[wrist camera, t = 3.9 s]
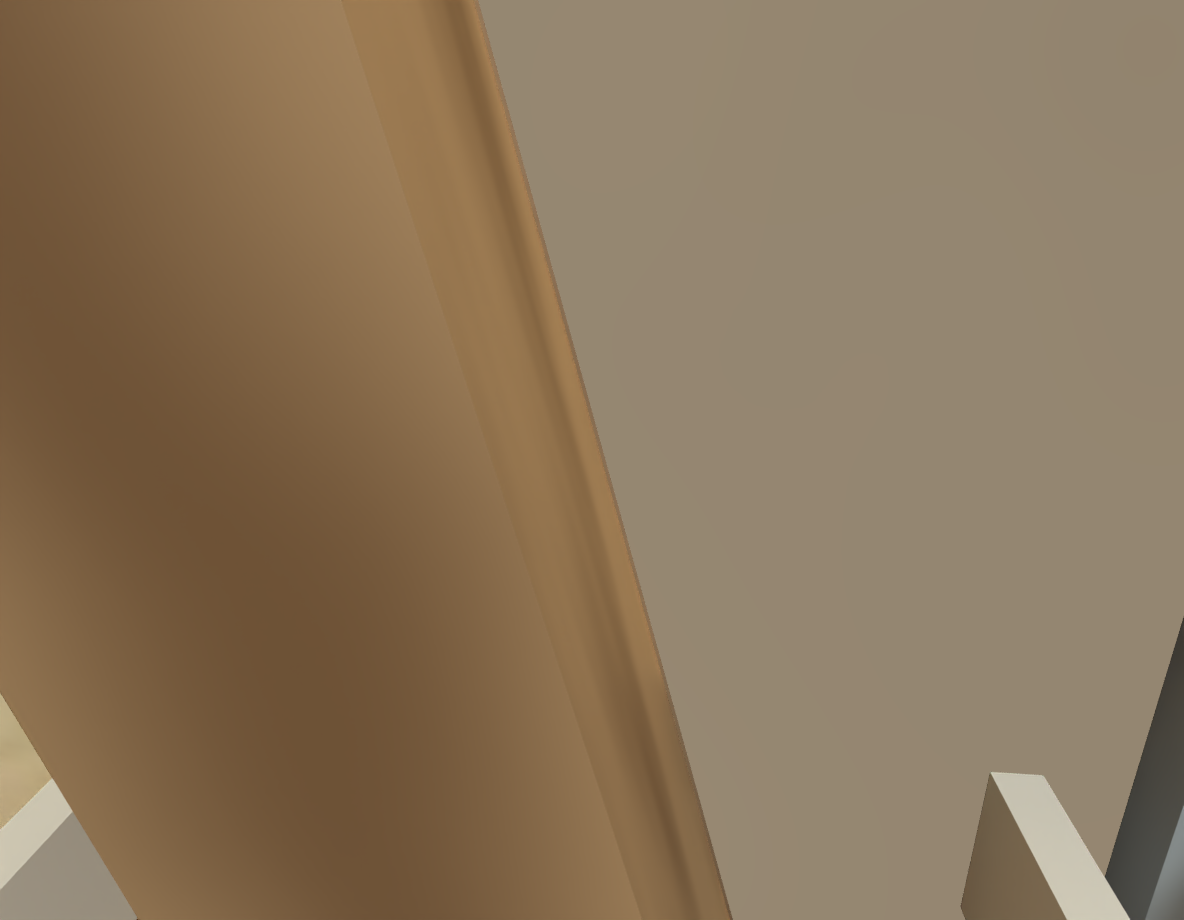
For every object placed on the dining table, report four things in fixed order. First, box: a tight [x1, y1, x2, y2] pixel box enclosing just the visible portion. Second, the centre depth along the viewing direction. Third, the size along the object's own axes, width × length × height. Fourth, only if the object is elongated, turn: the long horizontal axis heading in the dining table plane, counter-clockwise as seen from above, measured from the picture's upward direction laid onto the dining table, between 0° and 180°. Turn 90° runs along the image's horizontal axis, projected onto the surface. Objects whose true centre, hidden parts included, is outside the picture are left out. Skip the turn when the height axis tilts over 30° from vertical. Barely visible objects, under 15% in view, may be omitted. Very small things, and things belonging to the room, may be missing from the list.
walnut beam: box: [0, 0, 733, 920], centre depth 11 cm, size 5×24×5 cm, turn 15°
